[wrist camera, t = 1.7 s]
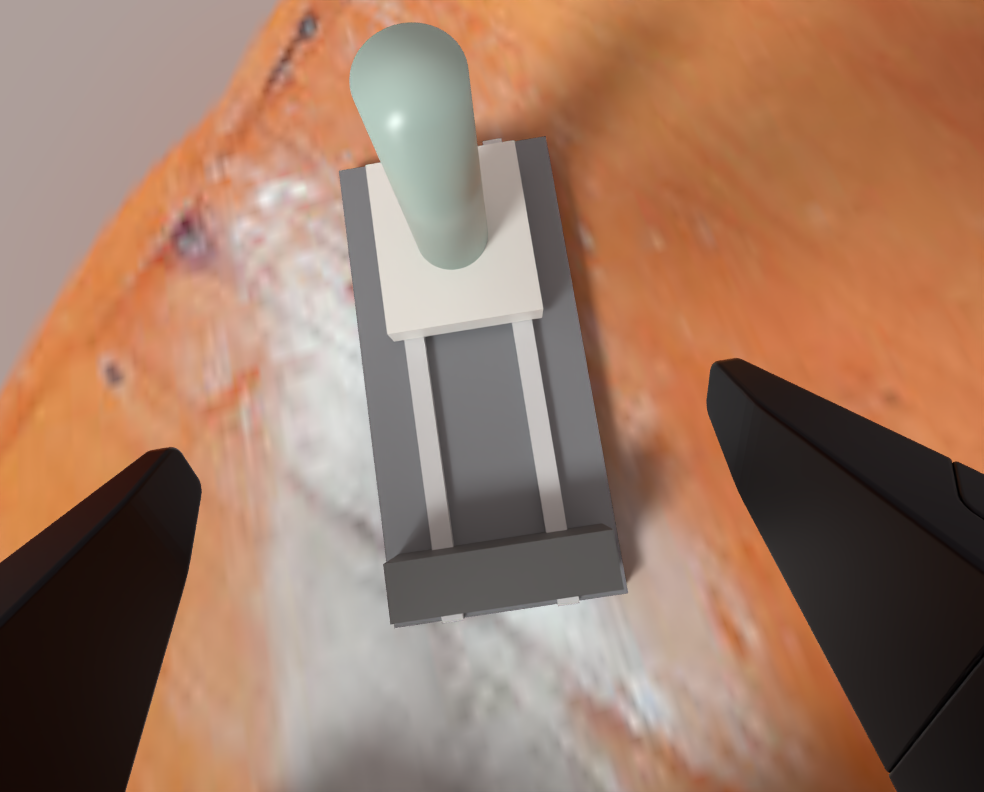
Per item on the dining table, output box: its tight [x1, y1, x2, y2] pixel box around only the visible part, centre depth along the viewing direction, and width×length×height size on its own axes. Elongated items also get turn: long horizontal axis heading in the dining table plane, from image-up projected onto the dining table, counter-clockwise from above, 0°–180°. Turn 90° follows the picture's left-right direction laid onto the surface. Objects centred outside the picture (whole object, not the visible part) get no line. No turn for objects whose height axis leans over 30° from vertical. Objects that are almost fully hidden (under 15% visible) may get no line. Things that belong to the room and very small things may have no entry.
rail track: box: [339, 136, 628, 628], centre depth 22 cm, size 19×9×4 cm, turn 9°
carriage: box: [350, 23, 543, 342], centre depth 18 cm, size 7×6×10 cm
